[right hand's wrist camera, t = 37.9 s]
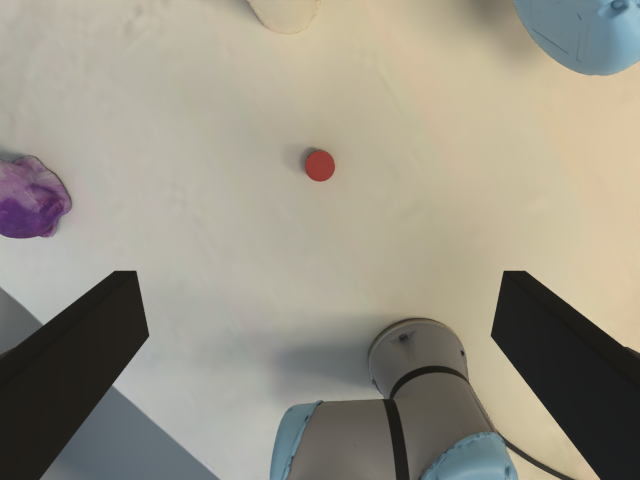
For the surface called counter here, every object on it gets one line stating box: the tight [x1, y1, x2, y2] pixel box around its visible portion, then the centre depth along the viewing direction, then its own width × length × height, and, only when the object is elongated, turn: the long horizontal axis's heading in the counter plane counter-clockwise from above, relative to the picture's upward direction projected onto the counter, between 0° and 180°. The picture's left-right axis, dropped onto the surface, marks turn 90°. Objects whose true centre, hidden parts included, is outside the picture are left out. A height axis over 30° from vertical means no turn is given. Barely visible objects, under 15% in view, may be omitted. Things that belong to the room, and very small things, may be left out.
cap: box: [305, 150, 335, 181], centre depth 45 cm, size 4×4×2 cm
